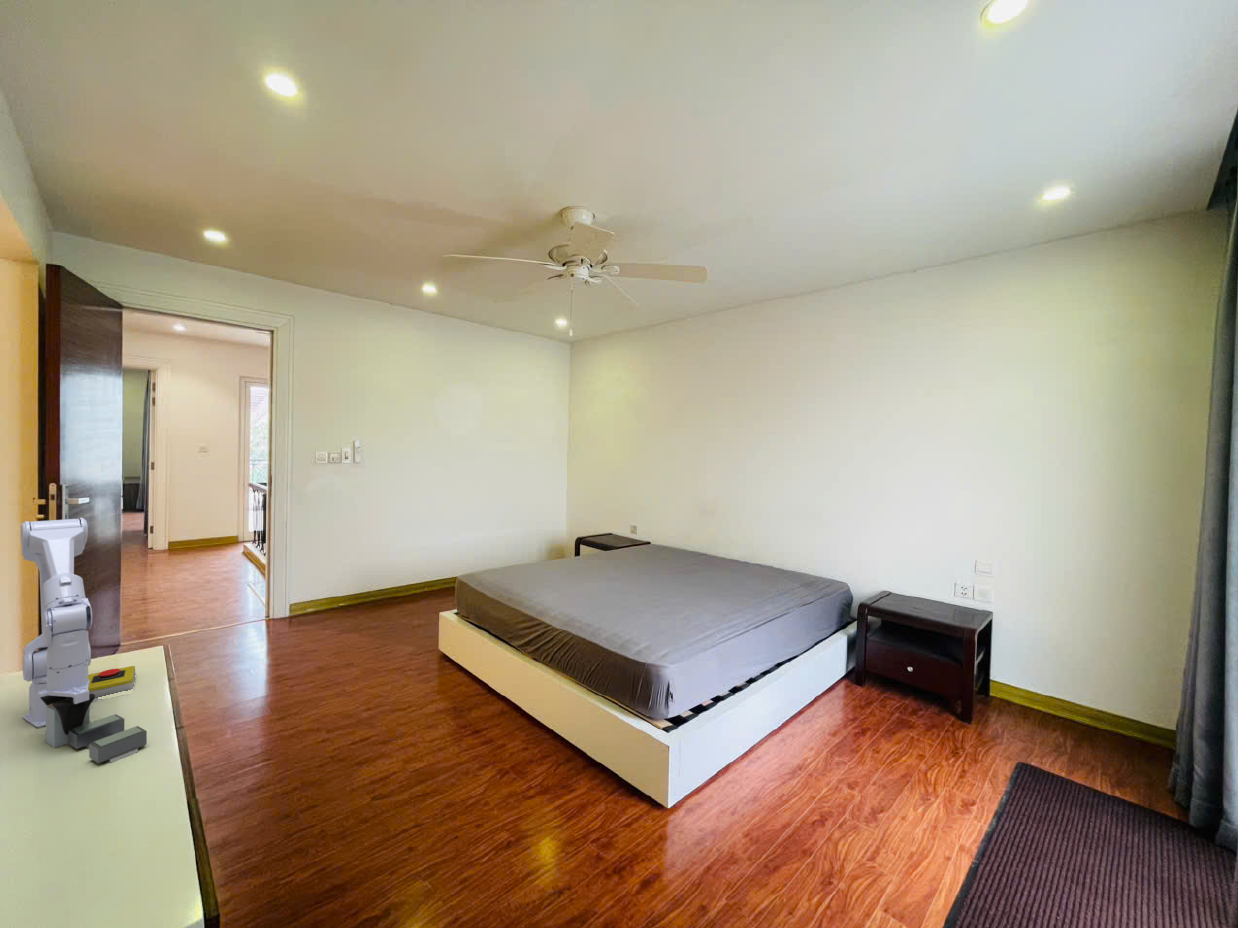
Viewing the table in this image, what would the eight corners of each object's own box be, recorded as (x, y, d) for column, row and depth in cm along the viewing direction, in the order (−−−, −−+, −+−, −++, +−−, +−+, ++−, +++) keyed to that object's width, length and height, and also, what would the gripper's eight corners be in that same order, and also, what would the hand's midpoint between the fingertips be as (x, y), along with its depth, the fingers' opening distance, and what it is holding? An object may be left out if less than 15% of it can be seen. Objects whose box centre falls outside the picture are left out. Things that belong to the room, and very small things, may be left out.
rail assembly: (67, 746, 99) (67, 728, 99) (114, 729, 105) (114, 712, 105) (99, 767, 93) (99, 748, 92) (147, 748, 99) (147, 730, 99)
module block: (45, 742, 100) (45, 704, 100) (80, 730, 105) (80, 694, 105) (54, 748, 98) (54, 710, 98) (89, 735, 103) (89, 699, 103)
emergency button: (136, 658, 132) (133, 677, 121) (136, 675, 132) (133, 695, 121) (85, 668, 126) (77, 689, 115) (85, 685, 126) (77, 708, 115)
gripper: (25, 664, 101) (25, 729, 101) (52, 678, 95) (52, 748, 95) (75, 652, 107) (74, 714, 108) (103, 665, 101) (103, 730, 101)
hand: (67, 729), depth 102 cm, fingers closed on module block, 4 cm apart
